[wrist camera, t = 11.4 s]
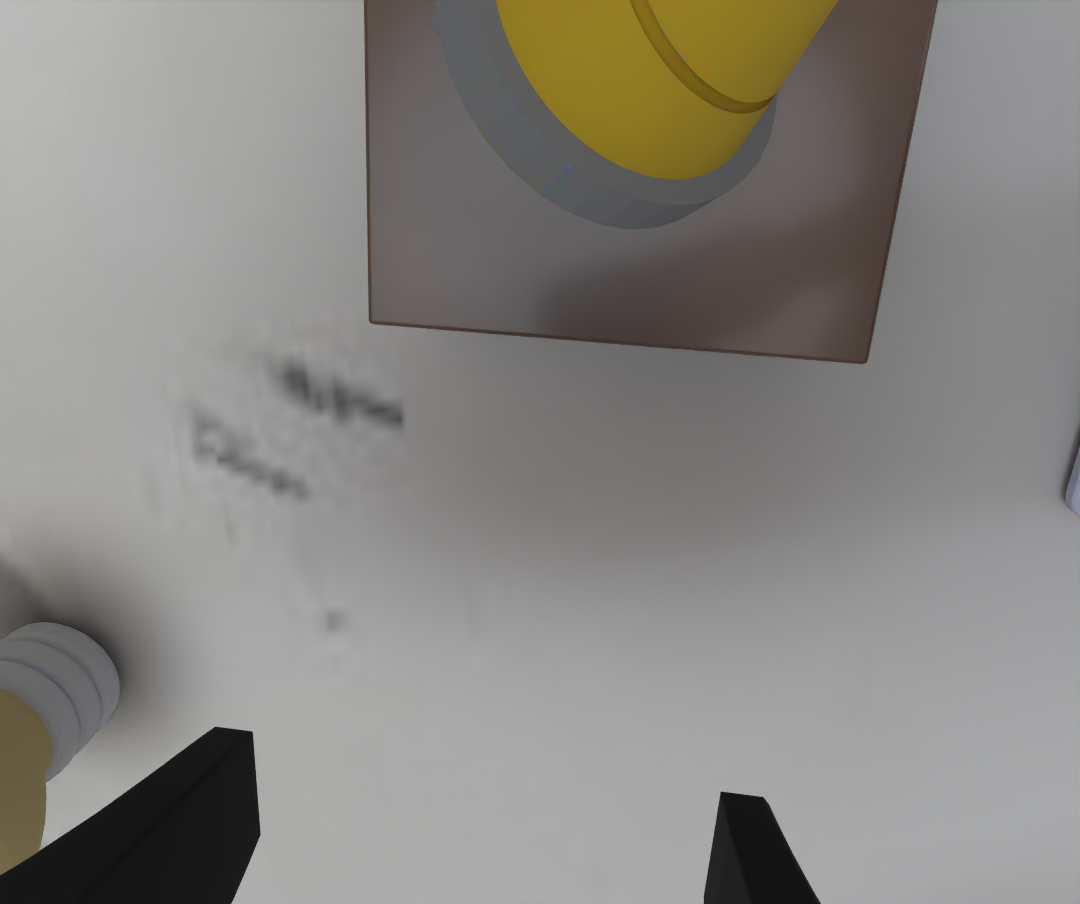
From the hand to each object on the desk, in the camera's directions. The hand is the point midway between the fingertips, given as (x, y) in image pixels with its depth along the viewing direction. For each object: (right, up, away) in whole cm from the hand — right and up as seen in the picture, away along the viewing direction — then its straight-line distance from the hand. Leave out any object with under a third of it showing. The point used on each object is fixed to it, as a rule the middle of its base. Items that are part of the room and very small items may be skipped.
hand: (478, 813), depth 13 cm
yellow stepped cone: (+3, +13, +1) cm, 14 cm away
